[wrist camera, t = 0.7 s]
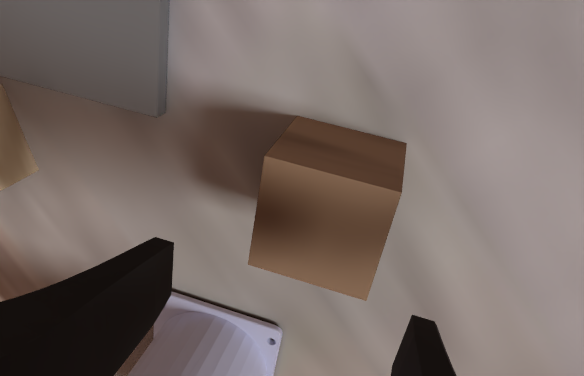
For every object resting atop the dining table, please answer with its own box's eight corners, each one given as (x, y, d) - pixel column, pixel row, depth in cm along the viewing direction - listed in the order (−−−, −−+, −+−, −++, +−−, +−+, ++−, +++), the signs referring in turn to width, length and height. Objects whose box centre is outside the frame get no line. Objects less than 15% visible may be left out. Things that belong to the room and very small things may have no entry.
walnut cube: (377, 235, 22) (366, 300, 18) (281, 207, 23) (247, 264, 19) (406, 142, 20) (401, 192, 16) (297, 115, 21) (264, 155, 16)
